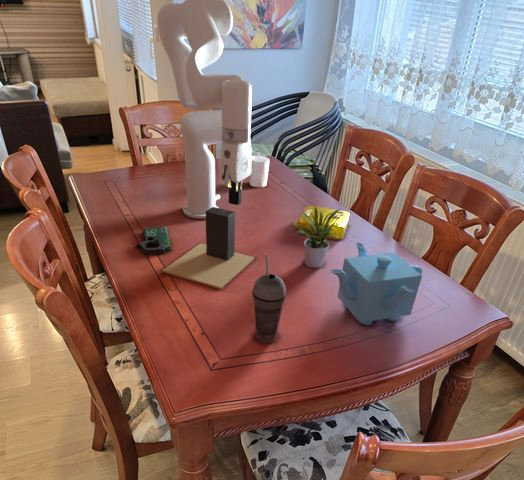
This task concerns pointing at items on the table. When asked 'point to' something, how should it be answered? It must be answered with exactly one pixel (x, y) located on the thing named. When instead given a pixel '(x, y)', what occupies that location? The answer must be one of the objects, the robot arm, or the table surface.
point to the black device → (220, 233)
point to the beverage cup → (268, 305)
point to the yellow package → (338, 225)
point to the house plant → (316, 238)
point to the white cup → (259, 171)
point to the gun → (155, 240)
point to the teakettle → (378, 286)
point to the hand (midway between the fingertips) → (234, 203)
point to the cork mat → (207, 267)
